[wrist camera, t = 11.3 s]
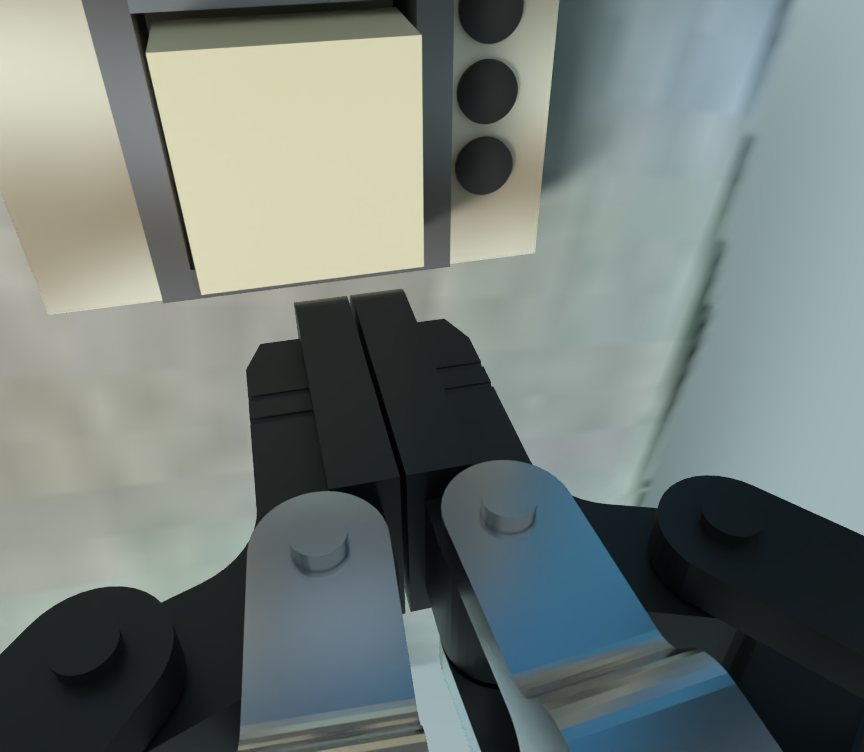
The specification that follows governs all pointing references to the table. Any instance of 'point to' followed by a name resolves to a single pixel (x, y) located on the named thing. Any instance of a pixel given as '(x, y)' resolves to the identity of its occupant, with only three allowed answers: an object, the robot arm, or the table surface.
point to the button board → (149, 158)
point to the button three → (294, 143)
